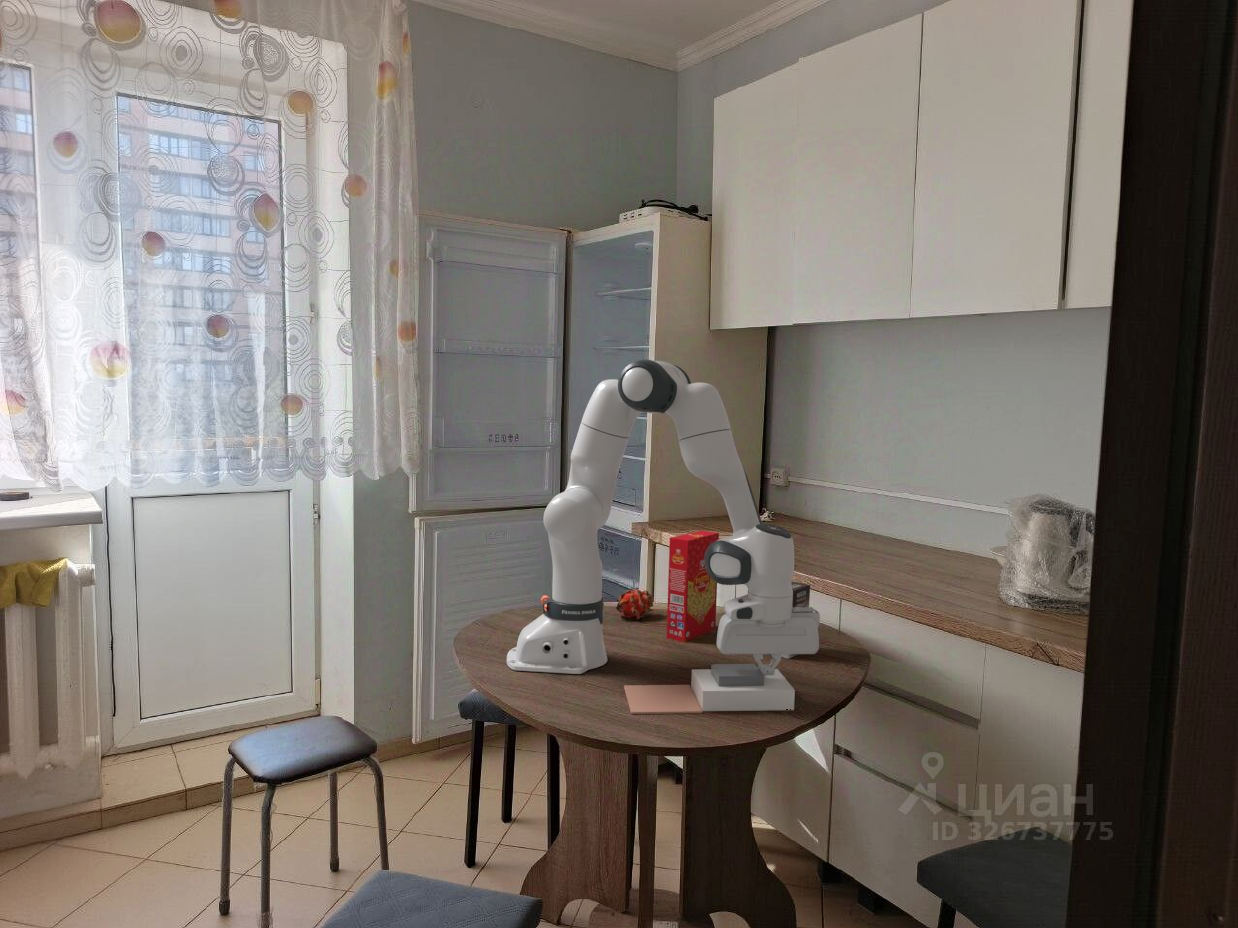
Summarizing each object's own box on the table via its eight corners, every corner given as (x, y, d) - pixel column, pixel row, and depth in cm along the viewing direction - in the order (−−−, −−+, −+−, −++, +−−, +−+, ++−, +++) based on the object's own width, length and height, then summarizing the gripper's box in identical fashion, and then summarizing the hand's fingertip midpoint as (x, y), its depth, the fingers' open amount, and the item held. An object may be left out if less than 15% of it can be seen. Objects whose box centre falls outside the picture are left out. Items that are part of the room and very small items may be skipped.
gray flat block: (718, 686, 162) (719, 676, 162) (711, 673, 169) (711, 664, 169) (763, 685, 163) (764, 675, 163) (754, 673, 170) (754, 663, 170)
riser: (702, 711, 160) (703, 690, 160) (691, 688, 172) (691, 669, 171) (793, 709, 162) (794, 689, 161) (776, 687, 174) (777, 668, 173)
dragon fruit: (656, 620, 226) (619, 633, 220) (639, 597, 231) (603, 609, 225) (665, 600, 221) (627, 613, 214) (648, 577, 226) (611, 588, 219)
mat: (631, 714, 158) (631, 711, 158) (623, 687, 171) (624, 685, 171) (702, 713, 159) (702, 711, 159) (689, 686, 173) (689, 684, 173)
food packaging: (684, 642, 203) (688, 540, 200) (666, 637, 206) (669, 537, 203) (715, 628, 214) (719, 532, 212) (697, 624, 218) (701, 530, 215)
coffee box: (789, 659, 192) (792, 591, 190) (764, 653, 196) (767, 586, 194) (807, 650, 199) (810, 584, 197) (783, 644, 203) (786, 579, 201)
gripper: (815, 602, 170) (811, 668, 171) (716, 602, 168) (713, 669, 169) (825, 611, 163) (822, 679, 165) (723, 611, 161) (720, 680, 163)
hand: (766, 674), depth 167 cm, fingers closed
